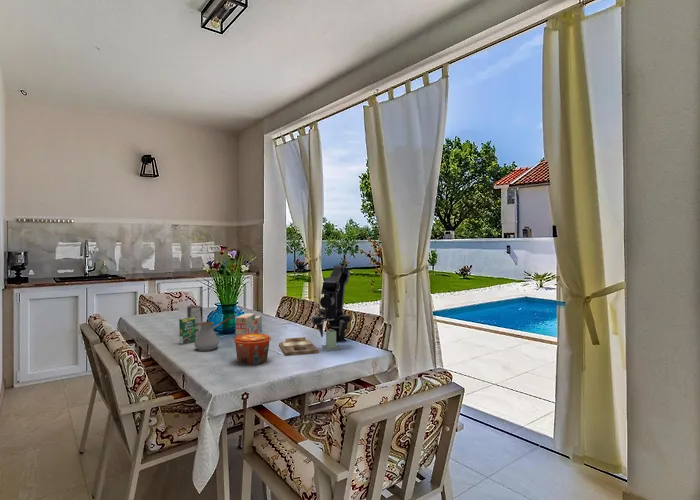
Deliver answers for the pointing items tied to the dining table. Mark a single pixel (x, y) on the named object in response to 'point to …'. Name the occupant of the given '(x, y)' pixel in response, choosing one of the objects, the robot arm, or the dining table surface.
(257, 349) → the food container
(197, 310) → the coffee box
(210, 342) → the coffee pot
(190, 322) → the coffee box
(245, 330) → the stack of blocks
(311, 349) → the well board
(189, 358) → the dining table surface
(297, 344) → the sliding lid
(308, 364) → the dining table surface
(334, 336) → the sage block
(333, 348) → the rubber mat
